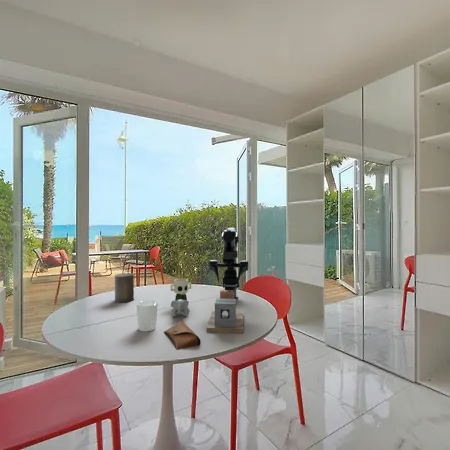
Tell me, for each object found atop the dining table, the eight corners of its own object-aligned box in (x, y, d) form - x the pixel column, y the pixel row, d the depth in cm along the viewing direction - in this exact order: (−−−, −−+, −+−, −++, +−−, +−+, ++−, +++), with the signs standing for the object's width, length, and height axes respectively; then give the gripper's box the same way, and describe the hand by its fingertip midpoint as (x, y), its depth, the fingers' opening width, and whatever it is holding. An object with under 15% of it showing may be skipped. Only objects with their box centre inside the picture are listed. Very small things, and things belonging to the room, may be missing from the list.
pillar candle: (137, 299, 152) (137, 271, 152) (122, 303, 144) (122, 274, 144) (126, 297, 157) (125, 270, 157) (110, 300, 149) (110, 272, 149)
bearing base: (212, 314, 128) (212, 291, 128) (243, 314, 127) (243, 291, 127) (206, 331, 107) (206, 304, 107) (243, 332, 106) (243, 305, 106)
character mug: (172, 309, 135) (172, 282, 135) (168, 305, 141) (168, 279, 141) (193, 306, 140) (193, 280, 140) (188, 302, 146) (188, 277, 146)
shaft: (220, 312, 123) (220, 290, 123) (234, 313, 123) (234, 290, 123) (216, 326, 106) (217, 300, 106) (232, 327, 106) (232, 300, 106)
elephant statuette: (187, 312, 131) (187, 295, 132) (195, 318, 120) (194, 300, 121) (167, 314, 128) (167, 297, 128) (173, 321, 117) (173, 303, 117)
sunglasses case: (161, 331, 107) (170, 315, 108) (176, 337, 110) (185, 321, 111) (177, 350, 91) (187, 331, 92) (194, 357, 94) (203, 338, 95)
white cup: (146, 333, 104) (146, 307, 104) (132, 329, 109) (132, 303, 109) (161, 327, 111) (161, 302, 111) (147, 323, 115) (147, 299, 115)
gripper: (208, 244, 133) (206, 274, 124) (248, 244, 131) (248, 275, 123) (211, 255, 142) (208, 284, 133) (248, 255, 141) (248, 285, 132)
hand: (228, 282), depth 130 cm, fingers open, 9 cm apart
